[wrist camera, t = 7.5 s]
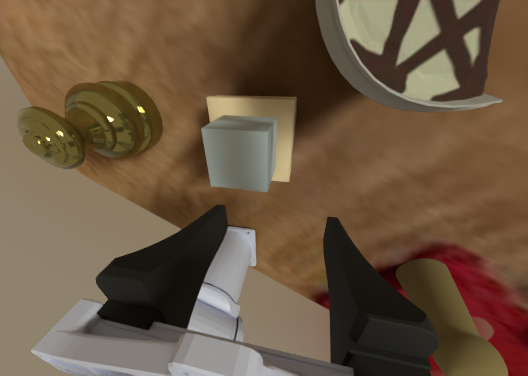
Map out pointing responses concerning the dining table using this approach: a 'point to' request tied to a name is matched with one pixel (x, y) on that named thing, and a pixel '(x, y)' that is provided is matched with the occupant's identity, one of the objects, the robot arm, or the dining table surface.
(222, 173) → the stacked blocks
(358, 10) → the food container
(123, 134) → the olive shiny rounded piece
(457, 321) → the cork
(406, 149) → the dining table surface
